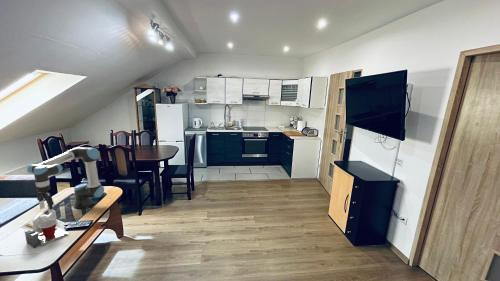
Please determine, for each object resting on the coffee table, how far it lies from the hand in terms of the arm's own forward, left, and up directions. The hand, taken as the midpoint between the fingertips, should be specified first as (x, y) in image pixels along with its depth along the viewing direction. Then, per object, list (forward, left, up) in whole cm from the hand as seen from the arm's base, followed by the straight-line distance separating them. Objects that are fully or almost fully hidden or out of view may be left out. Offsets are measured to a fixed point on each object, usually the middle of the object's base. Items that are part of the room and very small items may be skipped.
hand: (46, 210), depth 168 cm
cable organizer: (-5, -21, -24) cm, 32 cm away
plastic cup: (0, 0, -23) cm, 23 cm away
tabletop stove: (+2, 0, -24) cm, 24 cm away
